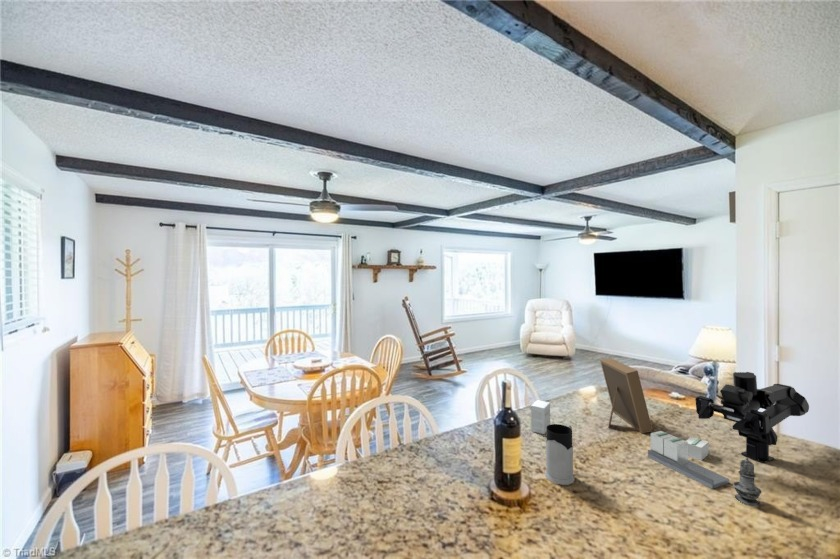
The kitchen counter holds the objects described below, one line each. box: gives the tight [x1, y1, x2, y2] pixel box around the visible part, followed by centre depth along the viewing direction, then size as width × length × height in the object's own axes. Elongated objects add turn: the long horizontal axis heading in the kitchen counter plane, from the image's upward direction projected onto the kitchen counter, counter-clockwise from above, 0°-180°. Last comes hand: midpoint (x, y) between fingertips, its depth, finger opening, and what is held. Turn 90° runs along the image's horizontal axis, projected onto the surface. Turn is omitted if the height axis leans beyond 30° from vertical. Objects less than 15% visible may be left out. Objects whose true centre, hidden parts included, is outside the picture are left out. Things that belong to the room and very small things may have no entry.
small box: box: [530, 399, 551, 435], centre depth 148 cm, size 8×6×10 cm
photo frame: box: [599, 357, 653, 434], centre depth 154 cm, size 15×22×25 cm
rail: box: [647, 430, 730, 490], centre depth 117 cm, size 8×20×8 cm, turn 21°
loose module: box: [685, 436, 709, 461], centre depth 127 cm, size 7×5×5 cm
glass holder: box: [544, 423, 575, 486], centre depth 116 cm, size 9×14×15 cm, turn 137°
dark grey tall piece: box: [732, 457, 762, 507], centre depth 101 cm, size 6×6×12 cm
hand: (715, 422), depth 113 cm, fingers open, 9 cm apart
